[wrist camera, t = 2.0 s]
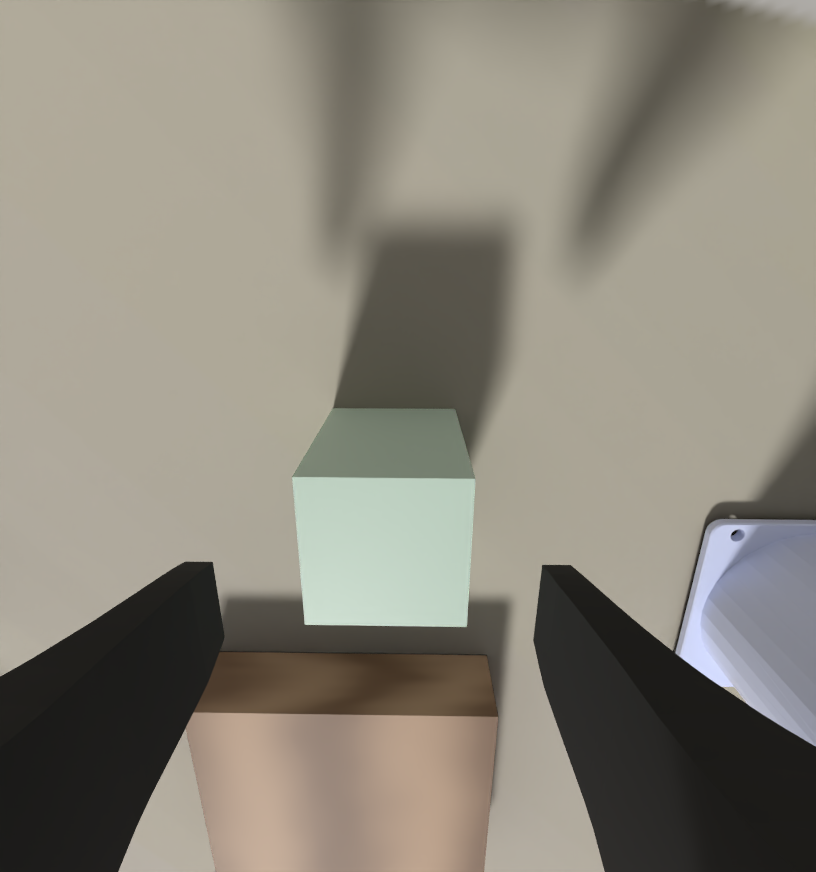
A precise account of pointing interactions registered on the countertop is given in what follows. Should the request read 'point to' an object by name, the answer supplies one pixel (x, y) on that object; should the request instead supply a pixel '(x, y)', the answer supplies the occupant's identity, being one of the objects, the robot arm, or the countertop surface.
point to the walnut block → (346, 761)
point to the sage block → (385, 519)
